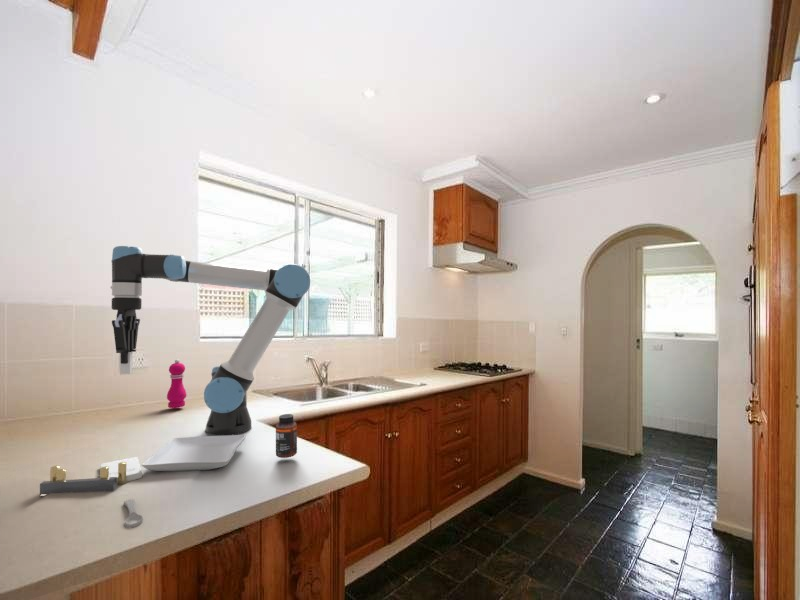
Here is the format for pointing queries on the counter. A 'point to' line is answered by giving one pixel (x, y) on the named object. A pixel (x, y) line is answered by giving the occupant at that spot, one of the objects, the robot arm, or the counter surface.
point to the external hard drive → (131, 468)
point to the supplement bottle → (286, 436)
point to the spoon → (132, 514)
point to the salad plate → (194, 453)
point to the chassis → (82, 481)
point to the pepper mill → (176, 386)
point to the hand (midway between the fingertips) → (126, 373)
